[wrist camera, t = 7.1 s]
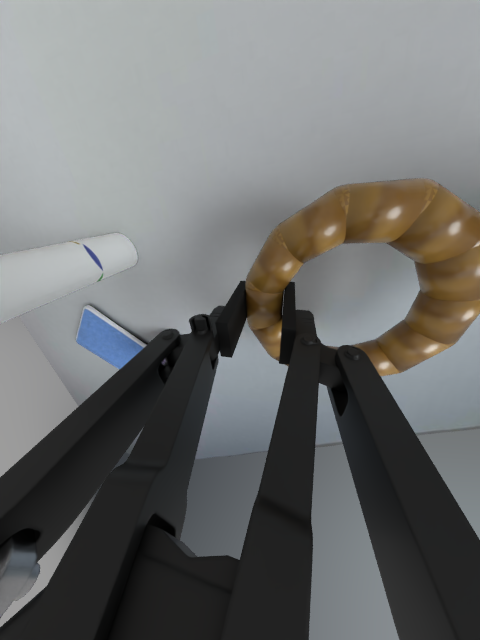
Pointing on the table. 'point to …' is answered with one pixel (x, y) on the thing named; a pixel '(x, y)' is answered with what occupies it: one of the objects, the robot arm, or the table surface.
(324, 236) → the ring
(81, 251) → the tube
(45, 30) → the table surface
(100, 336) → the tablet
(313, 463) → the robot arm
